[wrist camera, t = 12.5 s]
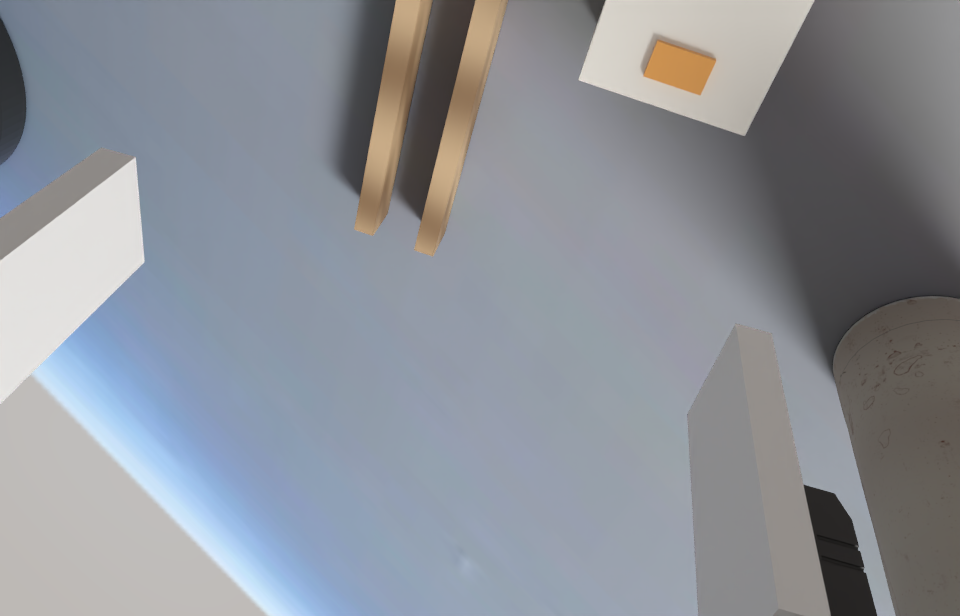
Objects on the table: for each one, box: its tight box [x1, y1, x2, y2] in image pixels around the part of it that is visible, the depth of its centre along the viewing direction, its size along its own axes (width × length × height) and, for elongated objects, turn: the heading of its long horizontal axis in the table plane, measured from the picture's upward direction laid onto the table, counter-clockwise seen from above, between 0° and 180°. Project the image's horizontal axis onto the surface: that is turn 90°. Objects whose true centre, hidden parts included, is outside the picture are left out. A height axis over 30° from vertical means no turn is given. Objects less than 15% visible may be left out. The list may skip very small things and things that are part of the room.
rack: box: [354, 0, 508, 256], centre depth 34 cm, size 16×4×2 cm, turn 165°
